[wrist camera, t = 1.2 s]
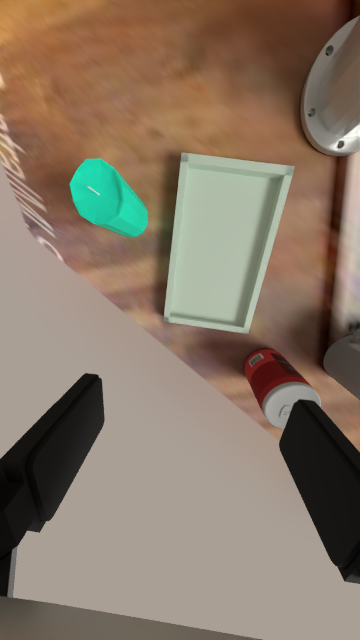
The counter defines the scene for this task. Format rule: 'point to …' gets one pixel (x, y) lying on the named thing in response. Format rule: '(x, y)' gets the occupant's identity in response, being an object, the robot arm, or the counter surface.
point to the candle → (107, 199)
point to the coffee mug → (345, 362)
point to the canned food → (276, 385)
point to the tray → (222, 239)
